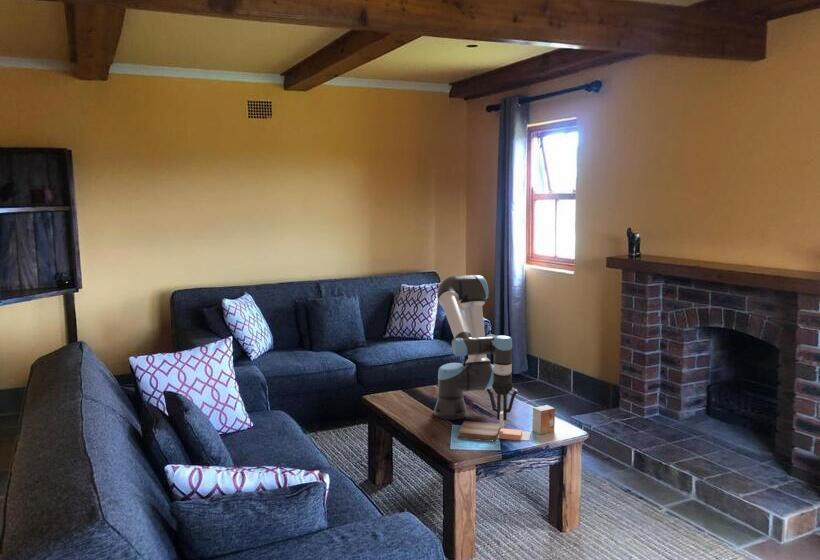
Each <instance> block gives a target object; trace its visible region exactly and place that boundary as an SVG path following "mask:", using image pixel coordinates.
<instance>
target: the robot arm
mask: <svg viewBox="0 0 820 560" xmlns="http://www.w3.org/2000/svg"><path fill="white" fill-rule="evenodd" d="M489 293H490V291H489V285H488V281H487V280H486V278H485V277H484V276H482V275H478V274H473V275H472V274H469V275H468V274H467V275H451V276H448V277H446V278H445V279H443V281H441V283H440V284H439V286H438V289H437V293H436V294H437V296H436V297H437V301H438V303H439V305H440V306H441V307H442V308H443V311H444V314H445V318H446V319H447V322H448V325H449V327H450V330H451V333H452V335H453V339H452V340H451V349H452V353H453V355H454V356H457V357H458V356H459V357H465V356H466V357H467V359H466V361H465V365H464V363H461V362H449V363H446V364H445V363H444V364H442V365H441V366H440V367H439V368H438V370H437V371H438V373H437V400H436V403H435V405H434V408H433V409H434V410H433V415H434V416H435V417H436V418H440V419H443V420H461V419H464V418H465V417H467V415H468V410H467V406H466V403H465V400H464V399H465V398H464V392H466V393H468V392H478V391H481V392H483V391H486V392H487V393H488V395H489V399H490V403H491V408H492V411H493V412H496V420H498V421H499V424H500V428H502V429H503V428H504V427H505V421H507V414H508V413H511V411H512V408H513V404H514V400H515V397H516V395H517V393H518V392H519V390H518V389H517V388H514V387H513V384H512V382H513V381H512V377H513V375H512V371H513V370H512V369H513V368H512V366H513V338H512V337H511V336H509V335H508V336H507V335H497V334H496V335H495V334H487V335H485V323H484V310H483V306H484V305H485V303H486V300H487V299H488V298H489ZM459 301H460V302H459ZM462 307H463V309H464V312H463V310H462ZM487 355H493V364H492V363H491V359H489V358H488V357H487ZM510 392H511V397H510V400H509V405H508V395H509V394H510ZM494 393H496V400H495V395H494ZM502 397H503V401H502ZM502 402H503V405H502ZM502 408H503V410H501V409H502Z"/></svg>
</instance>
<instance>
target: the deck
mask: <svg viewBox="0 0 820 560" xmlns="http://www.w3.org/2000/svg"><path fill="white" fill-rule="evenodd" d="M500 429H501V428H500V423H491V422H482V421H481V422H480V421H471V420H470V421H469V420H463V423H462V424H461V425H460V428H459V429H458V432H457V435H458V436H457V438H458V439H463V438H467V439H466V440H474V439H480V440H479V441H484V440H493V441H492V442H495V441H496V440H498V439H499V438H498V435H499V432H500ZM496 442H497V441H496Z"/></svg>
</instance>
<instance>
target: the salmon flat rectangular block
mask: <svg viewBox="0 0 820 560" xmlns="http://www.w3.org/2000/svg"><path fill="white" fill-rule="evenodd" d="M522 431H523V430H522V429H513V428H503V429H502V428H501V430H500V432H499V438H498V439H501V438H507V439H506V440H512V439H517V440H516V441H522V440H521V437H522Z"/></svg>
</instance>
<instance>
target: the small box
mask: <svg viewBox="0 0 820 560" xmlns="http://www.w3.org/2000/svg"><path fill="white" fill-rule="evenodd" d="M555 418H556V408H555V407H553V406H550V405H549V404H545V405H541V406H534V407H532V422H531V423H532V424H531V426H532V427H531V428H532V429H531V432H534V433H535V434H539V435H543V434H548V433H549V434H550V433H554V432H555V423H556V421H555V420H556V419H555Z"/></svg>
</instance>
